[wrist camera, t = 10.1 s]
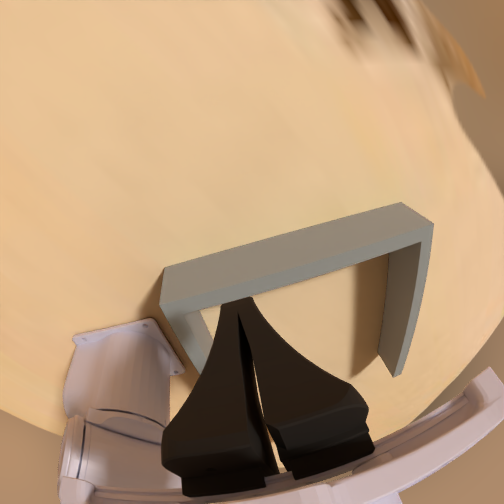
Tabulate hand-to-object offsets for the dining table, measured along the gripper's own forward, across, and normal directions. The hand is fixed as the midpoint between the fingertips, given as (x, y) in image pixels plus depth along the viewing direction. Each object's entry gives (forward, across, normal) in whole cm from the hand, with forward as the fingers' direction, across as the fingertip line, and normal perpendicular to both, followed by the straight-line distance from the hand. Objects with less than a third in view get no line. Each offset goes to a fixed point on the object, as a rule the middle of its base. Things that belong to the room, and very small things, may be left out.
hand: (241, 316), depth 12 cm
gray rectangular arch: (+9, -5, +12) cm, 16 cm away
